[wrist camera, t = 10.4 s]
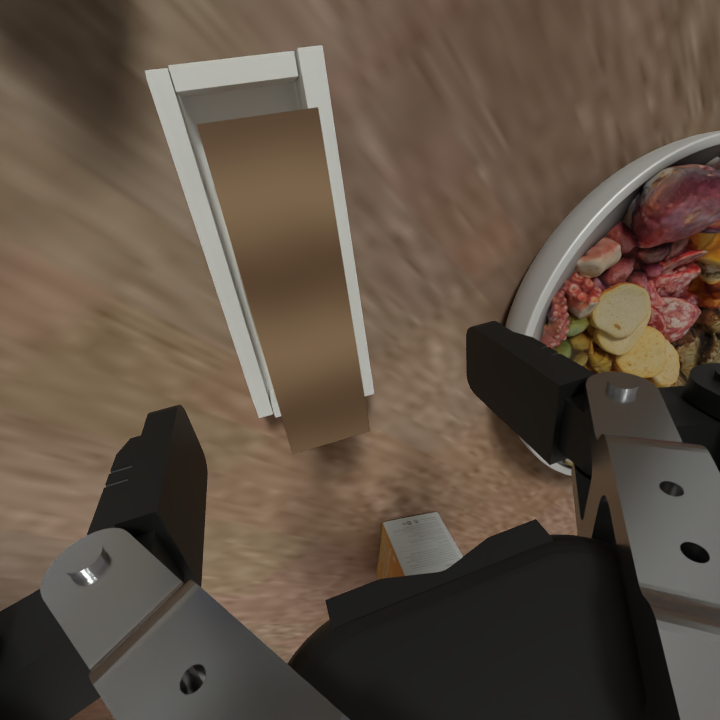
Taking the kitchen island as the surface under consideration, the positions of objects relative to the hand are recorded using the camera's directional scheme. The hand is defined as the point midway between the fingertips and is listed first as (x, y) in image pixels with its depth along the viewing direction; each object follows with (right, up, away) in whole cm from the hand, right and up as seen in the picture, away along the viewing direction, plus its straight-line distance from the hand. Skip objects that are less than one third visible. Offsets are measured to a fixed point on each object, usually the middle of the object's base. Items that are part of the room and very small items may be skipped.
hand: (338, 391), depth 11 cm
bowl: (+25, +5, +26) cm, 37 cm away
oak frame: (-5, +7, +14) cm, 16 cm away
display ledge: (-5, +8, +15) cm, 17 cm away
